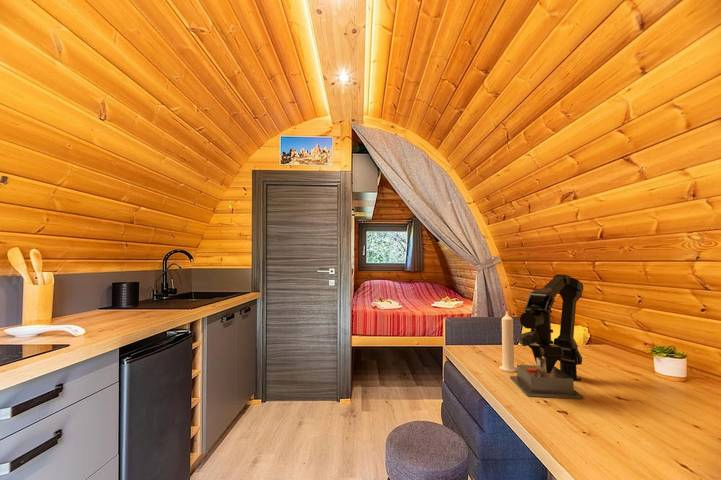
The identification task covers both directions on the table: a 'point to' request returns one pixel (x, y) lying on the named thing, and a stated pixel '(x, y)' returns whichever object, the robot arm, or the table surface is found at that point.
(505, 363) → the candle
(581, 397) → the stand
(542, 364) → the post
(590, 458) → the table surface
